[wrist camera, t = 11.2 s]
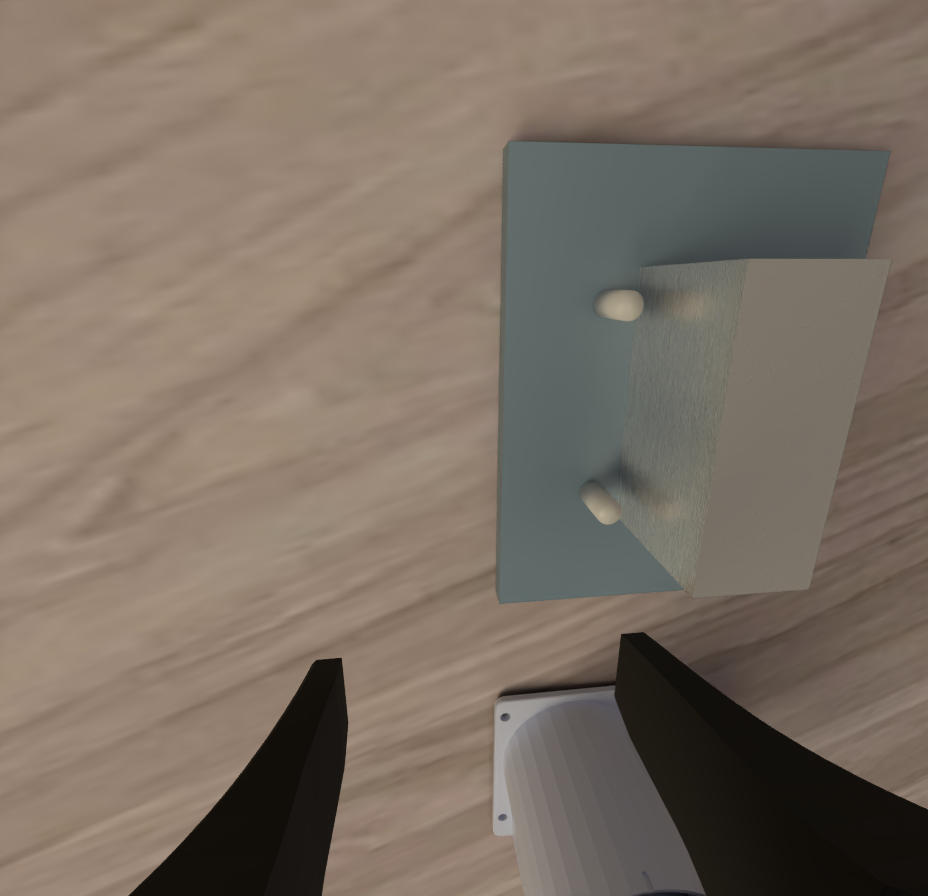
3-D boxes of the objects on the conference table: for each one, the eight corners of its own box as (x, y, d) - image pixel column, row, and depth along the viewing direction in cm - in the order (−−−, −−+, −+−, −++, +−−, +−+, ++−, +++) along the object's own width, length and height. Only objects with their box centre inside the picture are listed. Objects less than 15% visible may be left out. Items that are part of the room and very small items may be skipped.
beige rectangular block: (704, 509, 22) (811, 589, 16) (615, 514, 21) (692, 598, 16) (744, 267, 18) (895, 259, 13) (640, 267, 18) (748, 258, 12)
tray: (774, 570, 24) (823, 607, 22) (495, 590, 23) (508, 633, 20) (866, 158, 19) (948, 135, 16) (503, 148, 17) (522, 122, 14)
